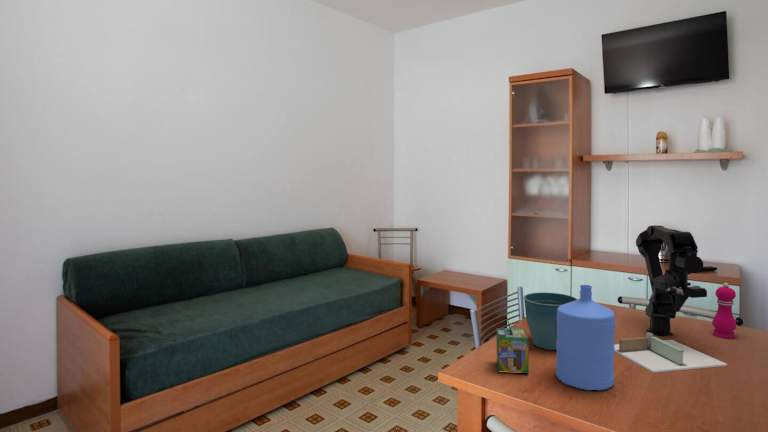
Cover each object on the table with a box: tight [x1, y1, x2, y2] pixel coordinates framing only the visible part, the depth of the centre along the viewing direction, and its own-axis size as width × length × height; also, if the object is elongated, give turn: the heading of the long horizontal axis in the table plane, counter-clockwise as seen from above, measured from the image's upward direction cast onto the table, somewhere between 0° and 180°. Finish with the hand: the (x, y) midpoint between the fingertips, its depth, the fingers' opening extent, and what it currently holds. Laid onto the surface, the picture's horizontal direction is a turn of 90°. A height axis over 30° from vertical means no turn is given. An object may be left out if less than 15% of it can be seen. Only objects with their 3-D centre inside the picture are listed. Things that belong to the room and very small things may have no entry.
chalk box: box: [495, 319, 530, 373], centre depth 142 cm, size 9×9×15 cm
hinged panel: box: [650, 336, 684, 364], centre depth 147 cm, size 12×2×4 cm, turn 8°
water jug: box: [555, 284, 616, 391], centre depth 132 cm, size 16×16×28 cm
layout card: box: [614, 331, 728, 374], centre depth 150 cm, size 22×26×6 cm
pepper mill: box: [711, 282, 738, 340], centre depth 167 cm, size 7×7×20 cm
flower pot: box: [523, 291, 578, 351], centre depth 161 cm, size 18×18×17 cm
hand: (676, 311), depth 159 cm, fingers closed
